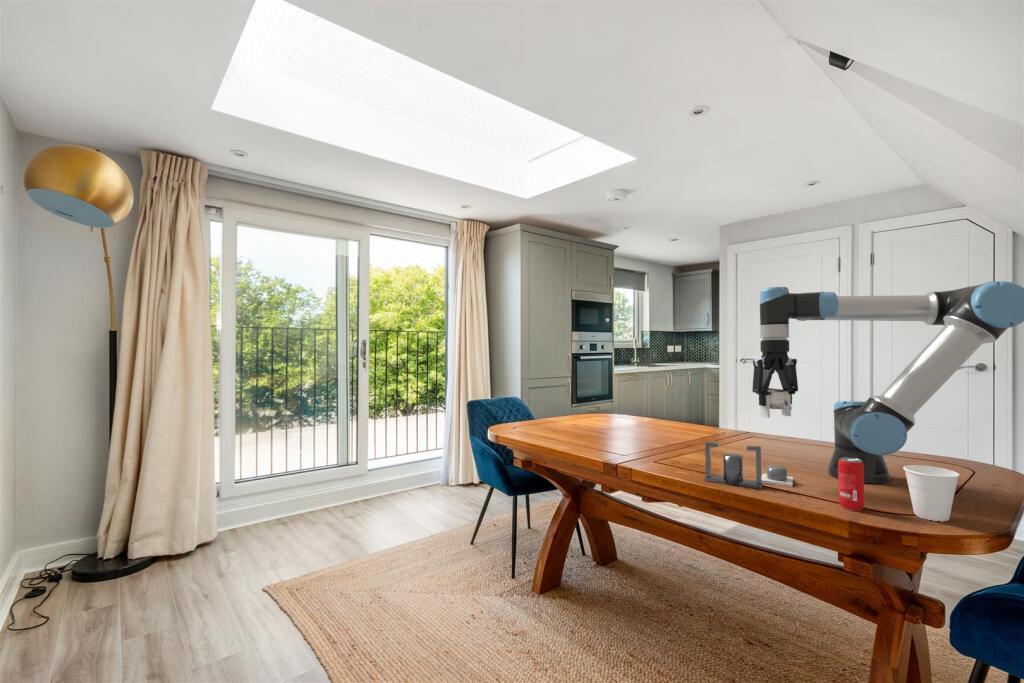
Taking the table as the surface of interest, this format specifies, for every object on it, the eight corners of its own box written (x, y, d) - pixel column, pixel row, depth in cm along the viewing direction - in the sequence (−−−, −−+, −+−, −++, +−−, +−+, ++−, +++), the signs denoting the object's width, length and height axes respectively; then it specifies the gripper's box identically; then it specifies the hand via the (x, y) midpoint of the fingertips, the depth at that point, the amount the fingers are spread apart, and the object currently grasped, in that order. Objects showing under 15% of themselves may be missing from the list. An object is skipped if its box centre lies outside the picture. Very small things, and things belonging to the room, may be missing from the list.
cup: (914, 522, 107) (913, 474, 107) (896, 507, 116) (896, 463, 116) (970, 528, 103) (969, 478, 103) (947, 512, 112) (946, 467, 112)
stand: (792, 479, 141) (792, 466, 141) (792, 486, 134) (792, 472, 134) (762, 475, 145) (762, 463, 145) (760, 482, 138) (760, 469, 138)
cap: (799, 409, 135) (799, 390, 135) (780, 410, 133) (779, 391, 133) (771, 404, 145) (771, 386, 145) (752, 405, 144) (752, 387, 144)
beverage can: (833, 504, 119) (832, 457, 119) (852, 503, 119) (851, 456, 120) (850, 511, 114) (849, 462, 114) (869, 510, 114) (869, 461, 114)
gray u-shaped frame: (762, 484, 136) (762, 445, 136) (761, 489, 132) (760, 449, 132) (707, 477, 144) (706, 440, 144) (704, 481, 140) (703, 443, 140)
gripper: (791, 338, 145) (793, 412, 145) (737, 339, 141) (738, 416, 141) (812, 338, 138) (813, 416, 138) (755, 339, 133) (757, 419, 133)
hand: (775, 416), depth 139 cm, fingers closed on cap, 7 cm apart
